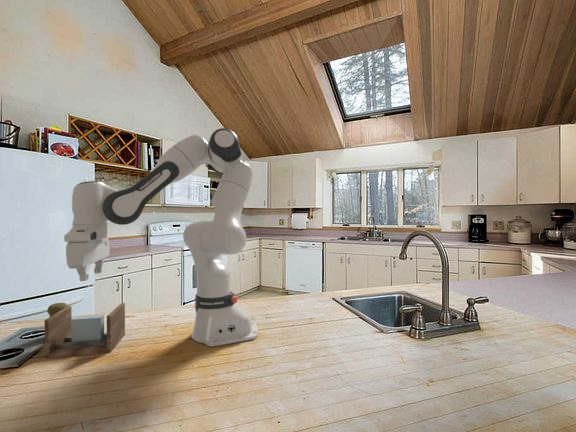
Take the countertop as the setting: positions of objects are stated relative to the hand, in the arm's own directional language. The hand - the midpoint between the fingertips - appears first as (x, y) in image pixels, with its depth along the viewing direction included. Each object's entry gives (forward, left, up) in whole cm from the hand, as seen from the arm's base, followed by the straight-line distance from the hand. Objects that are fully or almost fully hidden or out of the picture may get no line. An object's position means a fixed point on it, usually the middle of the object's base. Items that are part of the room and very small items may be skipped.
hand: (91, 276), depth 89 cm
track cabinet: (+1, +1, -22) cm, 22 cm away
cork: (+14, -8, -22) cm, 27 cm away
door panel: (+1, +1, -21) cm, 21 cm away
